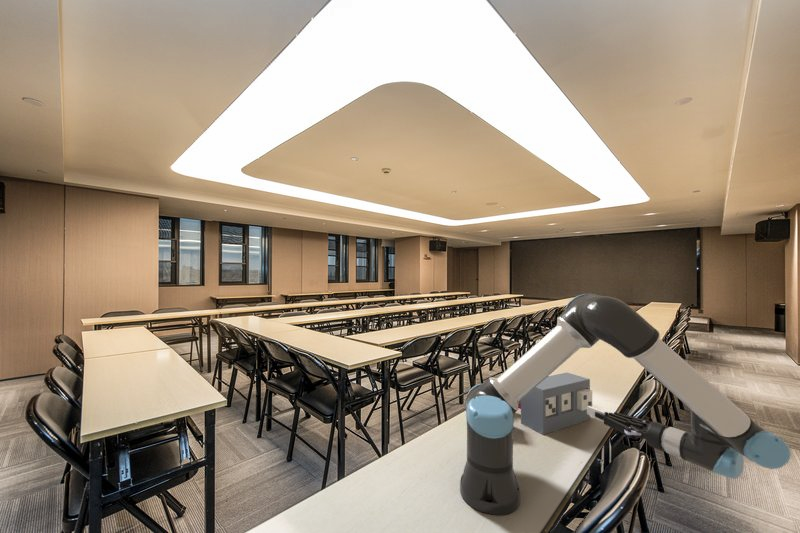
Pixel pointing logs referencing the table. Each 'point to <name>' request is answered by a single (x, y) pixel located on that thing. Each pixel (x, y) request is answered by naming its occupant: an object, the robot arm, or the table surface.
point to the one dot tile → (566, 401)
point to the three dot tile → (550, 406)
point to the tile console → (556, 386)
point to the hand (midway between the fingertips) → (588, 409)
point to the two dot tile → (584, 399)
